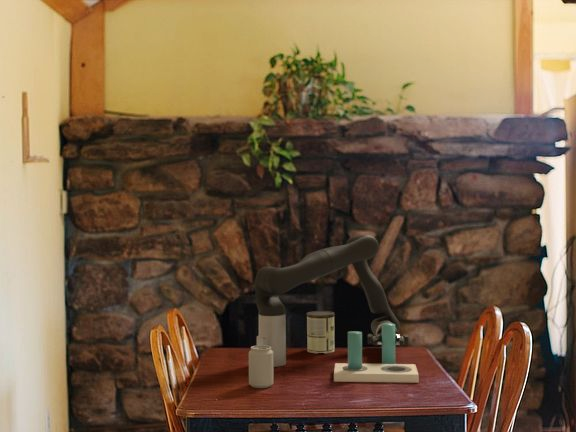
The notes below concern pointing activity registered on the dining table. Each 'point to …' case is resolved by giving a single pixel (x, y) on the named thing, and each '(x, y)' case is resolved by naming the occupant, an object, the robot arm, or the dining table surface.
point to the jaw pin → (388, 343)
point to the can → (261, 366)
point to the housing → (377, 373)
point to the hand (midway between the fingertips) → (388, 343)
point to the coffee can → (320, 332)
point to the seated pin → (354, 350)
